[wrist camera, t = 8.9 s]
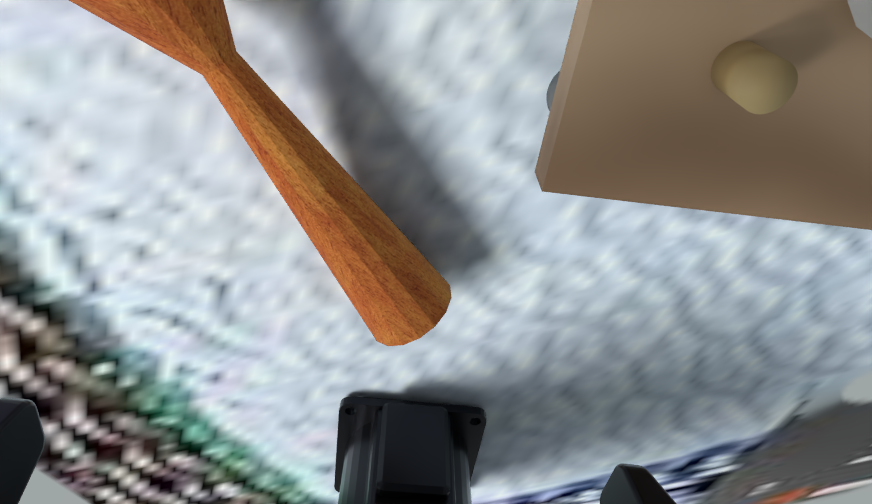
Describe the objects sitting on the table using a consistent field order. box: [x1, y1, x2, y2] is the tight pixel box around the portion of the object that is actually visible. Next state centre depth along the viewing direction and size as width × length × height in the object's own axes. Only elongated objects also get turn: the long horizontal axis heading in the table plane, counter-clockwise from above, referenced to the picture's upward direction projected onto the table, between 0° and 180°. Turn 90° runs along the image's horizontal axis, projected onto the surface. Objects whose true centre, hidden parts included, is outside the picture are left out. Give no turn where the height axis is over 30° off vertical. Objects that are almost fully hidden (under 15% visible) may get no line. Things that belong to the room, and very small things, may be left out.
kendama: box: [69, 0, 451, 346], centre depth 15 cm, size 6×6×20 cm
